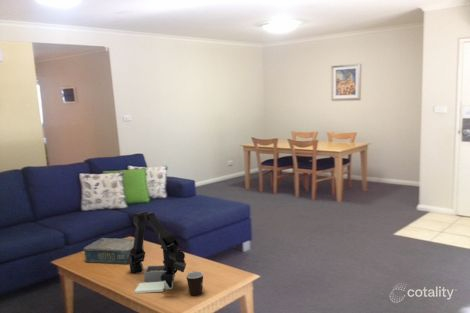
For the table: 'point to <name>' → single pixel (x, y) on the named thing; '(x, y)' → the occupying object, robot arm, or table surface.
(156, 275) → the tub
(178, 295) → the table surface
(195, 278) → the coffee mug
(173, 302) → the table surface
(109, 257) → the metal box
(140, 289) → the cube on cream block
